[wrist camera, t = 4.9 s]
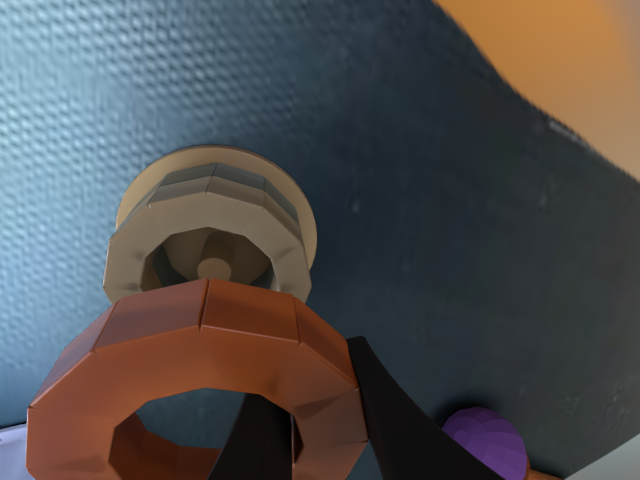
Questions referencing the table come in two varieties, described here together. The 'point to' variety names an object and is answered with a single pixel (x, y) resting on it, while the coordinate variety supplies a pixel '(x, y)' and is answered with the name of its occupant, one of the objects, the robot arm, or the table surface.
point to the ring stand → (212, 225)
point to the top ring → (194, 383)
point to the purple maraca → (493, 443)
